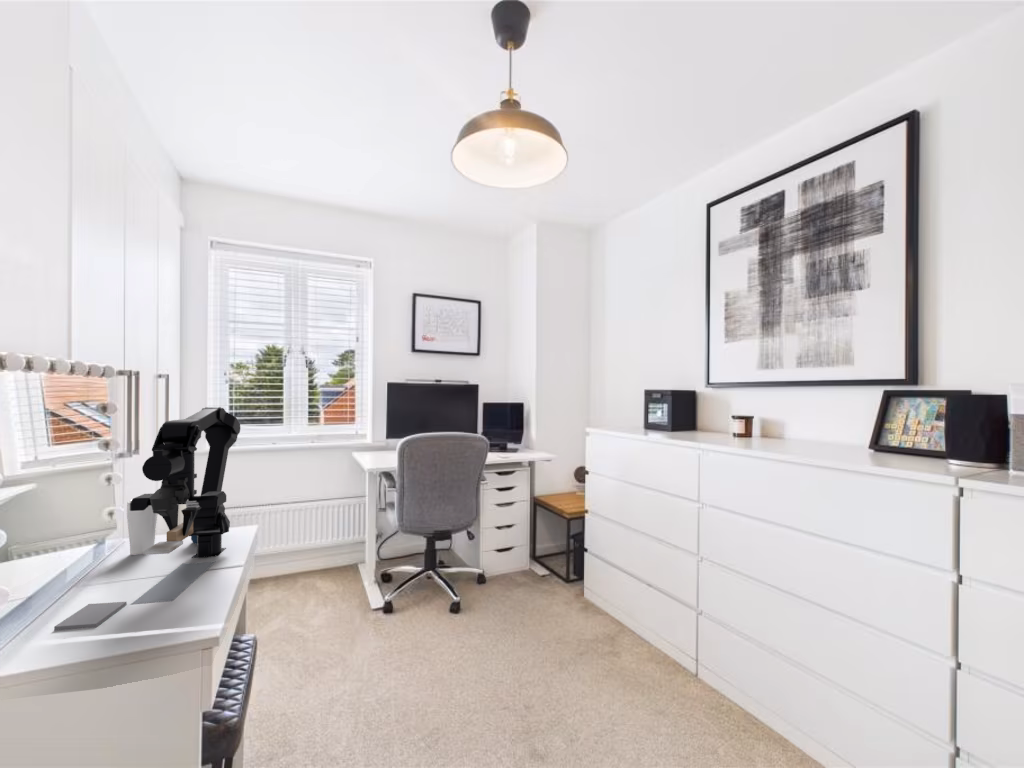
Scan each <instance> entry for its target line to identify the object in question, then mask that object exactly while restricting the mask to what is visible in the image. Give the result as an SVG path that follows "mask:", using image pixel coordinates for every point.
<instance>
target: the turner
mask: <svg viewBox="0 0 1024 768" xmlns="http://www.w3.org/2000/svg"><path fill="white" fill-rule="evenodd" d="M191 534H193V523H192V525H191V527H190V529H189V531H188V533H187V535H186V536H183V522H181V523H180V524H178V526H176V527H175V528H173V529H171V530H168V531H167V532H166V541H158V542H157V543H156V544H155V545H153V546H152V547H150V548H149V549H147V550H145V551H144V554H143V556H146V555H148V556H149V555H150V556H151V555H163V554H164V555H166V554H167V555H168V554H171V553H172V552H173V551H175V550H176V549H178V548H180V547H181V546H183V545H184V540H185V539H187V538H188V537H191V536H190V535H191Z"/></svg>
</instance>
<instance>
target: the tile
mask: <svg viewBox="0 0 1024 768" xmlns="http://www.w3.org/2000/svg"><path fill="white" fill-rule="evenodd" d="M125 606H127V601H115V602H114V601H113V602H102V603H101V602H100V603H99V602H97V603H88V604H87V605H86V606H84V607H82V608H81V609H79V610H78V611H76V612H75V613H73V614H71V615H70V616H68V617H67V618H65V619H63V621H61V622H59V623H57V624H56V625H55V626H54V627H53V628H54V631H55V632H56V631H65V630H77V629H78V630H79V629H90V628H97V627H99V625H102V623H104V622H105V621H106V620H108V619H109V618H111V617H112V616H113V615H115V614H116V613H117V612H119V611H120V610H122V609H123V608H125Z"/></svg>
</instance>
